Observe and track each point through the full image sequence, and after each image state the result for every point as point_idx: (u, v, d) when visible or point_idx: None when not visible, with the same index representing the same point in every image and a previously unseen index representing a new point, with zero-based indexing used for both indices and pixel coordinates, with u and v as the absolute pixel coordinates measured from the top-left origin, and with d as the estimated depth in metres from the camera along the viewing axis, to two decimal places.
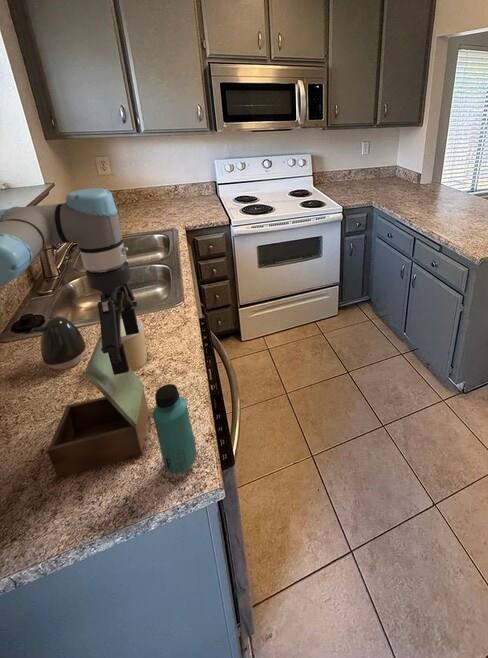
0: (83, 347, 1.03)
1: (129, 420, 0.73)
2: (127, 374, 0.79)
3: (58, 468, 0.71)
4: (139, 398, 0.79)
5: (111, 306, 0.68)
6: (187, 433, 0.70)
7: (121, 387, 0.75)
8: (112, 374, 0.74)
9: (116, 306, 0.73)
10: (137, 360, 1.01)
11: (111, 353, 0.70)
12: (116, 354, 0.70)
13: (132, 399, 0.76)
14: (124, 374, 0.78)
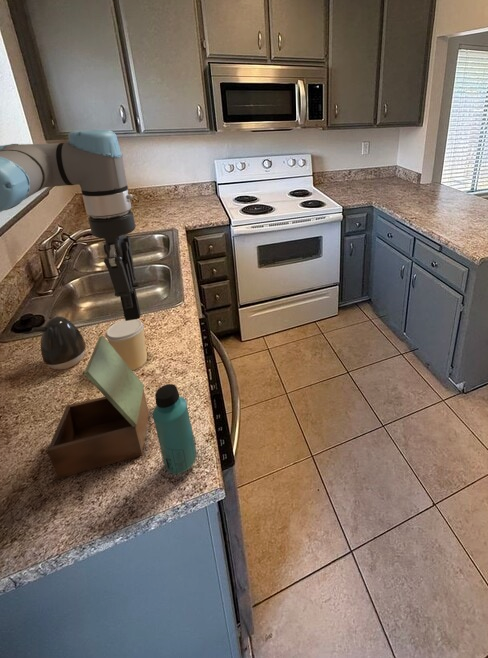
0: (83, 347, 1.03)
1: (129, 420, 0.73)
2: (127, 374, 0.79)
3: (58, 468, 0.71)
4: (139, 398, 0.79)
5: (119, 263, 0.66)
6: (187, 433, 0.70)
7: (121, 387, 0.75)
8: (112, 374, 0.74)
9: (120, 257, 0.69)
10: (137, 360, 1.01)
11: (124, 298, 0.72)
12: (128, 299, 0.73)
13: (132, 399, 0.76)
14: (124, 374, 0.78)
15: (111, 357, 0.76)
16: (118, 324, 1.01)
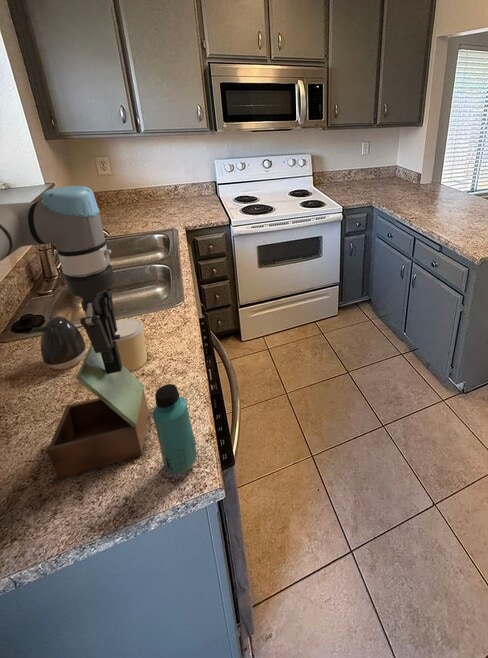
0: (83, 347, 1.03)
1: (128, 421, 0.73)
2: (124, 375, 0.79)
3: (58, 468, 0.71)
4: (138, 398, 0.79)
5: (96, 322, 0.65)
6: (187, 433, 0.70)
7: (118, 389, 0.75)
8: (107, 376, 0.74)
9: (98, 313, 0.67)
10: (137, 360, 1.01)
11: (103, 353, 0.71)
12: (108, 354, 0.71)
13: (130, 400, 0.76)
14: (121, 376, 0.78)
15: None
16: (118, 324, 1.01)
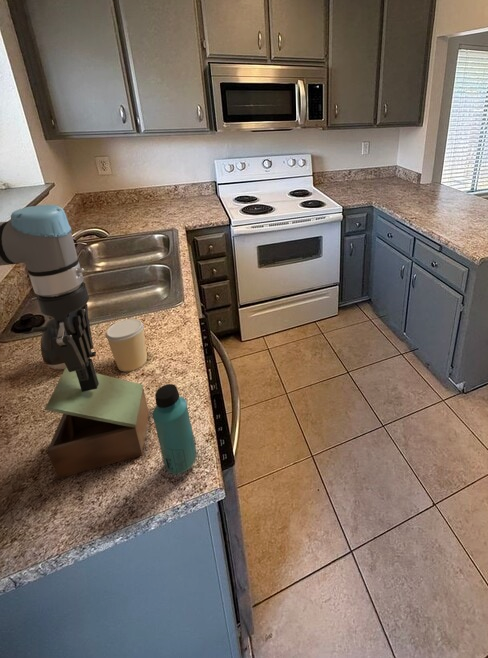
0: None
1: (125, 424, 0.73)
2: (113, 385, 0.79)
3: (58, 468, 0.71)
4: (136, 399, 0.79)
5: (68, 342, 0.64)
6: (187, 433, 0.70)
7: (105, 400, 0.75)
8: (88, 394, 0.74)
9: (71, 332, 0.67)
10: (137, 360, 1.01)
11: (78, 371, 0.70)
12: (83, 372, 0.71)
13: (124, 405, 0.76)
14: (108, 387, 0.78)
15: None
16: (118, 324, 1.01)
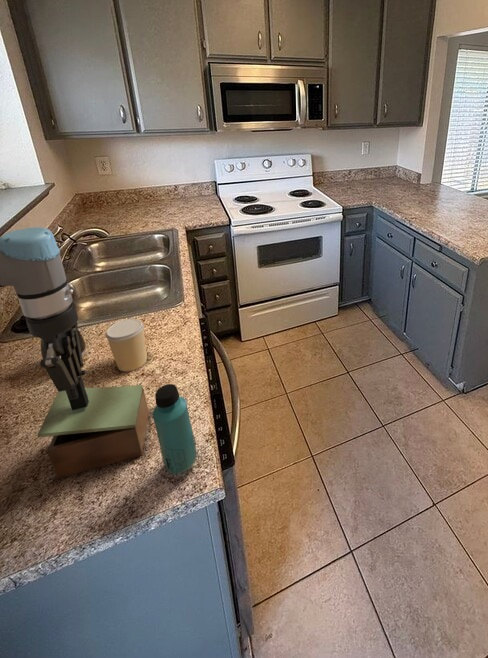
0: (83, 347, 1.03)
1: (124, 427, 0.73)
2: (109, 394, 0.80)
3: (58, 468, 0.71)
4: (135, 400, 0.79)
5: (57, 364, 0.65)
6: (187, 433, 0.70)
7: (100, 411, 0.75)
8: (82, 410, 0.74)
9: (60, 353, 0.67)
10: (137, 360, 1.01)
11: (68, 390, 0.71)
12: (73, 391, 0.71)
13: (122, 409, 0.76)
14: (104, 397, 0.79)
15: None
16: (118, 324, 1.01)
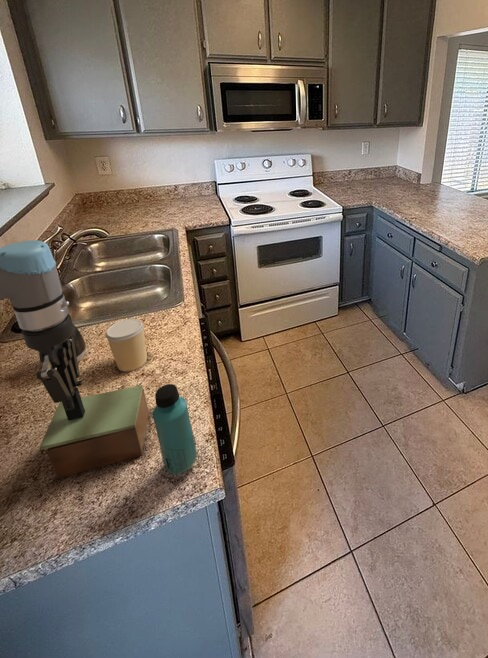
0: (83, 347, 1.03)
1: (124, 428, 0.73)
2: (109, 398, 0.80)
3: (58, 468, 0.71)
4: (134, 401, 0.79)
5: (52, 376, 0.65)
6: (187, 433, 0.70)
7: (101, 416, 0.75)
8: (82, 418, 0.75)
9: (56, 364, 0.68)
10: (137, 360, 1.01)
11: (64, 401, 0.71)
12: (69, 402, 0.72)
13: (122, 412, 0.77)
14: (104, 402, 0.79)
15: None
16: (118, 324, 1.01)
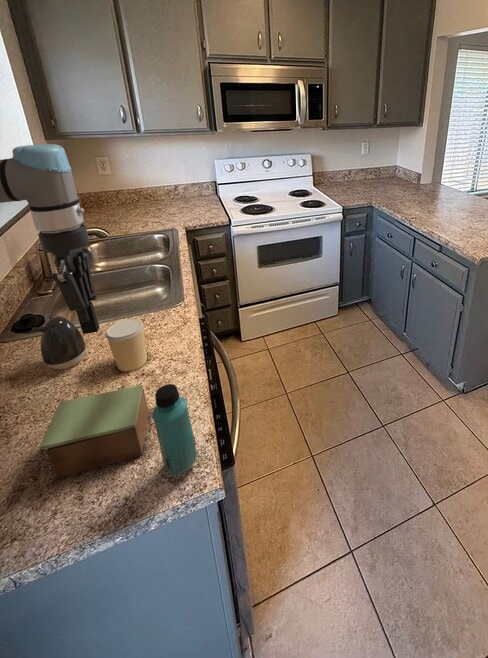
0: (83, 347, 1.03)
1: (124, 428, 0.73)
2: (109, 398, 0.80)
3: (58, 468, 0.71)
4: (134, 401, 0.79)
5: (68, 278, 0.66)
6: (187, 433, 0.70)
7: (101, 416, 0.75)
8: (82, 418, 0.75)
9: (72, 271, 0.69)
10: (137, 360, 1.01)
11: (79, 312, 0.72)
12: (84, 313, 0.73)
13: (122, 412, 0.77)
14: (104, 402, 0.79)
15: (78, 407, 0.78)
16: (118, 324, 1.01)
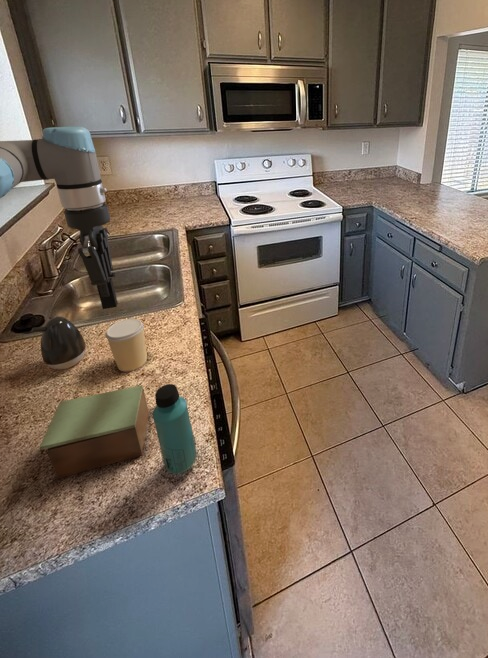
0: (83, 347, 1.03)
1: (124, 428, 0.73)
2: (109, 398, 0.80)
3: (58, 468, 0.71)
4: (134, 401, 0.79)
5: (93, 253, 0.70)
6: (187, 433, 0.70)
7: (101, 416, 0.75)
8: (82, 418, 0.75)
9: (95, 247, 0.73)
10: (137, 360, 1.01)
11: (100, 287, 0.76)
12: (104, 288, 0.77)
13: (122, 412, 0.77)
14: (104, 402, 0.79)
15: (78, 407, 0.78)
16: (118, 324, 1.01)
